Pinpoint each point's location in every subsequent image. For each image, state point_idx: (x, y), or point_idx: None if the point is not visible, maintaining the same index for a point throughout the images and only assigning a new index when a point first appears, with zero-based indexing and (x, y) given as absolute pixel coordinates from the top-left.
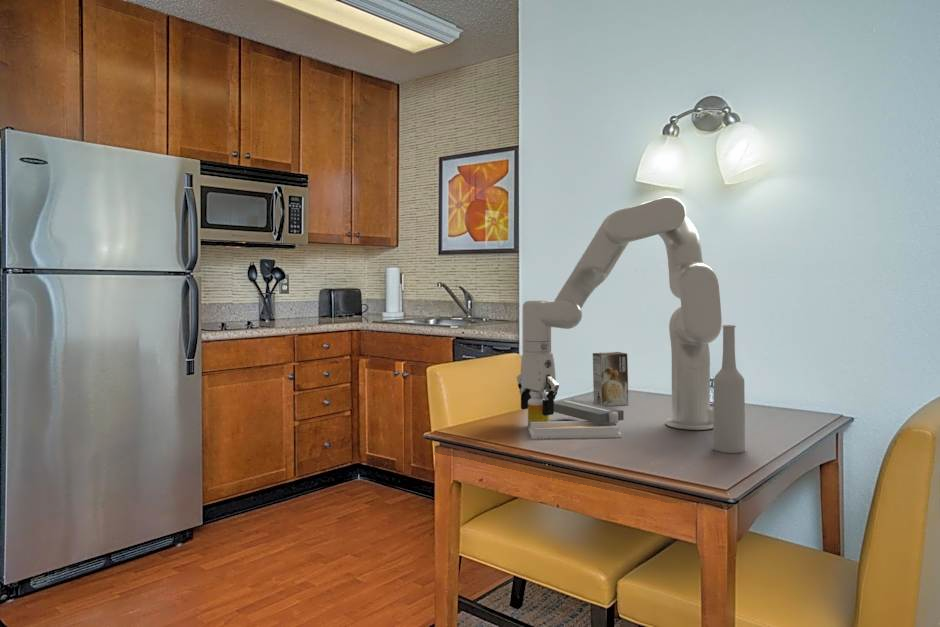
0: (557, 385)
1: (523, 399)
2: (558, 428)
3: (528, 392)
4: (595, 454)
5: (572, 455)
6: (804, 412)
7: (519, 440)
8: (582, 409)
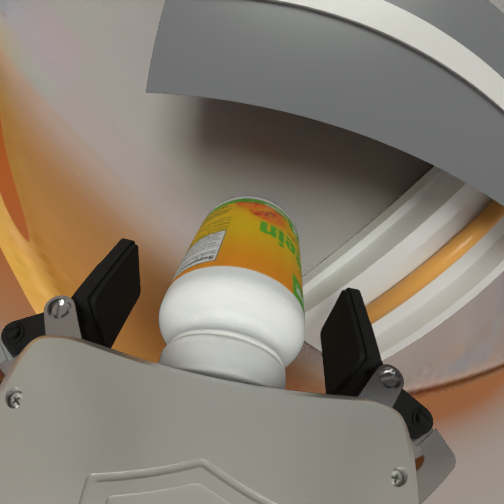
0: (446, 465)
1: (117, 327)
2: (418, 337)
3: (86, 327)
4: (495, 344)
5: (461, 371)
6: None
7: (321, 377)
8: (497, 187)
